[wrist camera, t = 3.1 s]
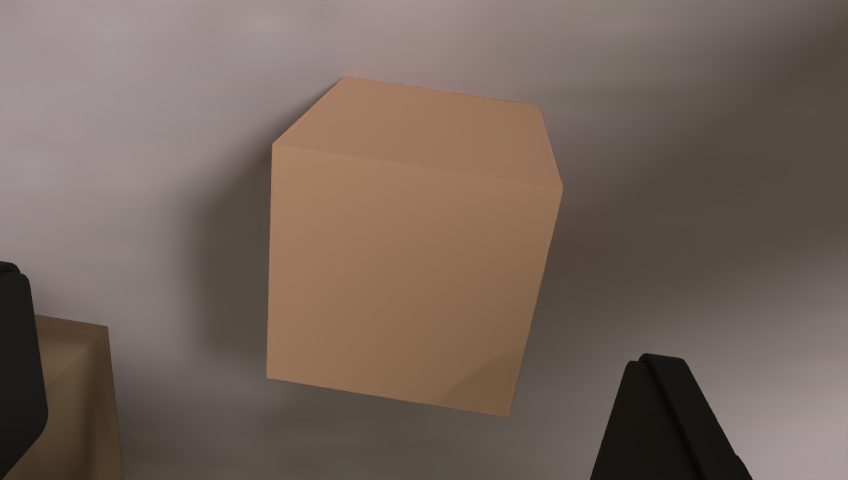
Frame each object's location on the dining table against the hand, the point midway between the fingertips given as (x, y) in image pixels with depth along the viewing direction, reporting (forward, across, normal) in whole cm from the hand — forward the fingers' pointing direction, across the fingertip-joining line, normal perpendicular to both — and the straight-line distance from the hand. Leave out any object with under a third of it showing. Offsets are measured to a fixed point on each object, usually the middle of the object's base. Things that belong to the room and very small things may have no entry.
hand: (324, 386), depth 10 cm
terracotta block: (+8, -1, -1) cm, 8 cm away
